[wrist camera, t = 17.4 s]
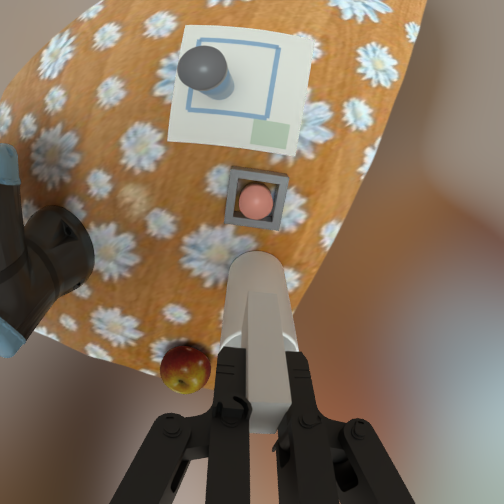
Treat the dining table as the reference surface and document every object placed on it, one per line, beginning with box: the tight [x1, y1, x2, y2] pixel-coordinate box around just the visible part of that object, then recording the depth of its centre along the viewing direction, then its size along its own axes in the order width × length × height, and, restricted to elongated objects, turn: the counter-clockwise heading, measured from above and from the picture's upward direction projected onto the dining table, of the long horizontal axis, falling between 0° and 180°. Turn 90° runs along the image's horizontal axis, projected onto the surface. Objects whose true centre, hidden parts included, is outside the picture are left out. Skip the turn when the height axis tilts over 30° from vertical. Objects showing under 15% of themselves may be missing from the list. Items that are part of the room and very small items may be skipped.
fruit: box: [160, 346, 211, 394], centre depth 46 cm, size 10×9×8 cm
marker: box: [177, 46, 234, 100], centre depth 22 cm, size 4×4×12 cm
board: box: [167, 25, 315, 157], centre depth 28 cm, size 16×16×1 cm
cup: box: [219, 251, 299, 352], centre depth 34 cm, size 8×8×16 cm
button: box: [239, 183, 273, 220], centre depth 33 cm, size 4×4×2 cm
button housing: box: [224, 166, 289, 231], centre depth 34 cm, size 7×7×2 cm
